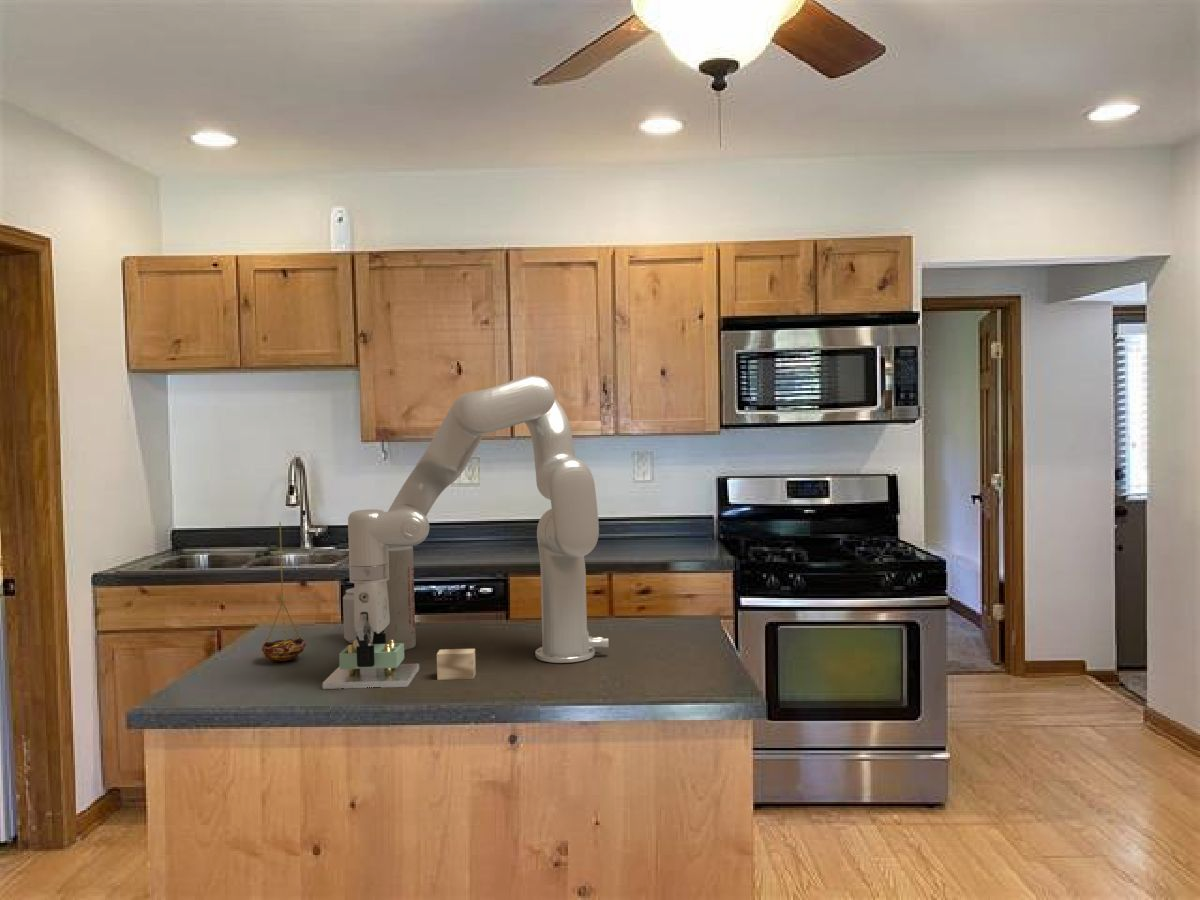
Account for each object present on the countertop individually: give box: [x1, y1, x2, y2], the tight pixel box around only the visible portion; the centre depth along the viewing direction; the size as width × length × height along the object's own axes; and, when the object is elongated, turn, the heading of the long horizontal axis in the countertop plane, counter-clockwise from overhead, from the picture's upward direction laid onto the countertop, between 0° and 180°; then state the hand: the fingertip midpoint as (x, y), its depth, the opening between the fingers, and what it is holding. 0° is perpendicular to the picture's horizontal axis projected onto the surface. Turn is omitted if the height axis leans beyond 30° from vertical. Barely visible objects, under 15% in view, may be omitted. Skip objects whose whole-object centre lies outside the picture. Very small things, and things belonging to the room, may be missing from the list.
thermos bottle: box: [385, 545, 416, 651], centre depth 200 cm, size 8×8×28 cm
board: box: [338, 643, 405, 669], centre depth 175 cm, size 11×7×3 cm, turn 91°
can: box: [342, 587, 369, 644], centre depth 207 cm, size 8×8×12 cm
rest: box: [436, 648, 477, 681], centre depth 175 cm, size 7×4×5 cm, turn 91°
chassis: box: [322, 639, 420, 690], centre depth 175 cm, size 16×12×7 cm
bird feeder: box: [261, 521, 307, 663], centre depth 190 cm, size 9×9×30 cm
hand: (372, 659), depth 175 cm, fingers open, 9 cm apart
